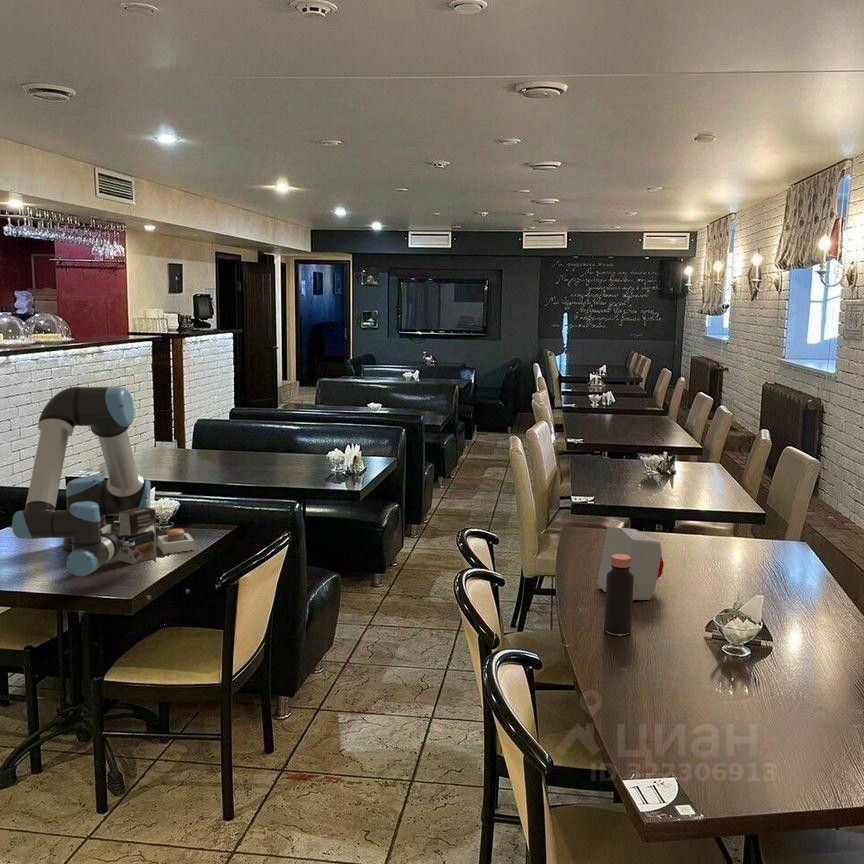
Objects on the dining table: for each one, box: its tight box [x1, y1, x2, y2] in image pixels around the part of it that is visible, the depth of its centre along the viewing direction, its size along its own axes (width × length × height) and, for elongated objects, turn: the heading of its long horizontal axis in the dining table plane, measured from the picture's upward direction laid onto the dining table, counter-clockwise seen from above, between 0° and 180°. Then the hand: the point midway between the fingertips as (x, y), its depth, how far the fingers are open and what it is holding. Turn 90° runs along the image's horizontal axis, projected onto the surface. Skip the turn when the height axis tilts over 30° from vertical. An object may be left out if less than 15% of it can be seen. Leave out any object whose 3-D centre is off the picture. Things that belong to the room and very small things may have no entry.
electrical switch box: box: [596, 526, 664, 601], centre depth 249 cm, size 15×15×20 cm
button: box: [166, 528, 185, 542], centre depth 286 cm, size 6×6×5 cm
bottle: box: [603, 554, 634, 634], centre depth 219 cm, size 7×7×20 cm
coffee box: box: [119, 507, 157, 565], centre depth 273 cm, size 9×6×16 cm
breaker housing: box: [157, 532, 195, 555], centre depth 286 cm, size 10×10×4 cm
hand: (131, 529), depth 267 cm, fingers open, 13 cm apart
